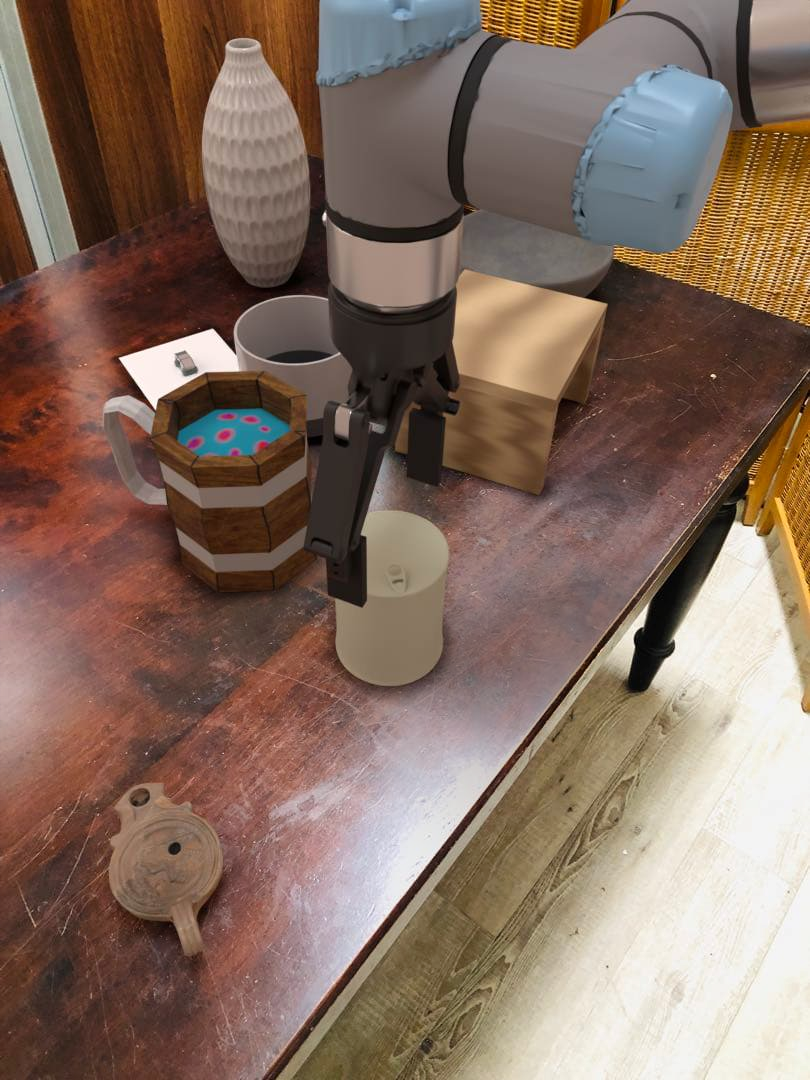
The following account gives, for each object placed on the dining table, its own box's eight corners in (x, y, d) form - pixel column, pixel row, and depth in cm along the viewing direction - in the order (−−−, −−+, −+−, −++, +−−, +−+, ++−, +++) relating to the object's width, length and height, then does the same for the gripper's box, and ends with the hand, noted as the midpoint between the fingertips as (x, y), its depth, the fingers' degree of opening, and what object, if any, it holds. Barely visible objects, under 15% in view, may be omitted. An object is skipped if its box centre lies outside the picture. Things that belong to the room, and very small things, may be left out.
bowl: (474, 354, 105) (480, 295, 100) (416, 269, 119) (418, 212, 113) (631, 325, 110) (645, 267, 105) (558, 246, 124) (567, 191, 118)
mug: (343, 510, 87) (337, 386, 76) (287, 611, 78) (271, 487, 67) (165, 465, 91) (135, 341, 80) (93, 556, 82) (48, 431, 71)
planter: (382, 424, 96) (382, 342, 88) (275, 462, 91) (265, 379, 84) (328, 363, 103) (324, 283, 96) (226, 396, 99) (214, 314, 91)
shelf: (588, 396, 100) (607, 303, 91) (539, 495, 89) (556, 400, 80) (457, 361, 104) (464, 269, 96) (394, 451, 93) (396, 355, 84)
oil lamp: (99, 820, 64) (82, 787, 60) (199, 781, 66) (189, 747, 63) (142, 997, 56) (125, 971, 52) (254, 946, 58) (246, 917, 55)
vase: (246, 245, 122) (218, 19, 102) (330, 262, 120) (319, 33, 99) (201, 290, 114) (161, 53, 94) (291, 309, 111) (270, 70, 91)
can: (344, 695, 72) (339, 601, 63) (328, 609, 78) (321, 512, 69) (454, 677, 73) (464, 583, 65) (429, 593, 79) (435, 498, 71)
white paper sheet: (157, 412, 97) (154, 401, 96) (118, 358, 103) (115, 347, 102) (256, 378, 101) (254, 368, 100) (213, 328, 108) (211, 318, 107)
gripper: (419, 180, 60) (409, 425, 75) (219, 380, 44) (259, 638, 59) (524, 204, 58) (492, 450, 73) (355, 422, 42) (359, 677, 57)
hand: (388, 535), depth 66 cm, fingers open, 13 cm apart
